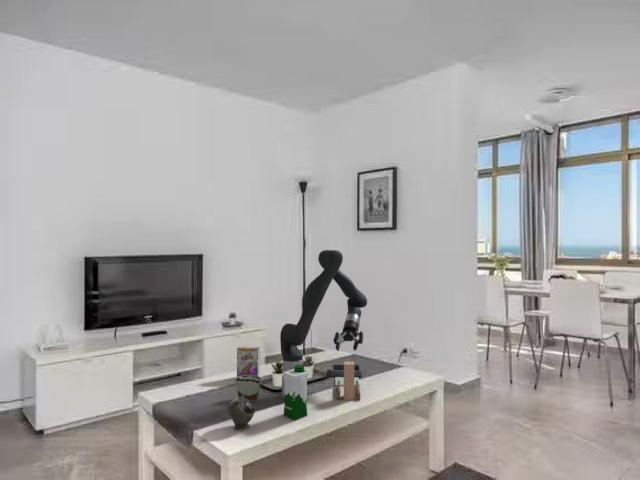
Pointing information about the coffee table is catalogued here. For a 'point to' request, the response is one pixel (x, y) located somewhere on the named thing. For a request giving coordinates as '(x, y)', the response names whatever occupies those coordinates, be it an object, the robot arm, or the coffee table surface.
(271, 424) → the coffee table surface
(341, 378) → the pad
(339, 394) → the walled channel
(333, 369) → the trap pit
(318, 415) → the coffee table surface
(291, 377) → the milk carton
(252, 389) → the food container
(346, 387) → the terracotta post
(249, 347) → the candy bar box
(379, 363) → the coffee table surface
